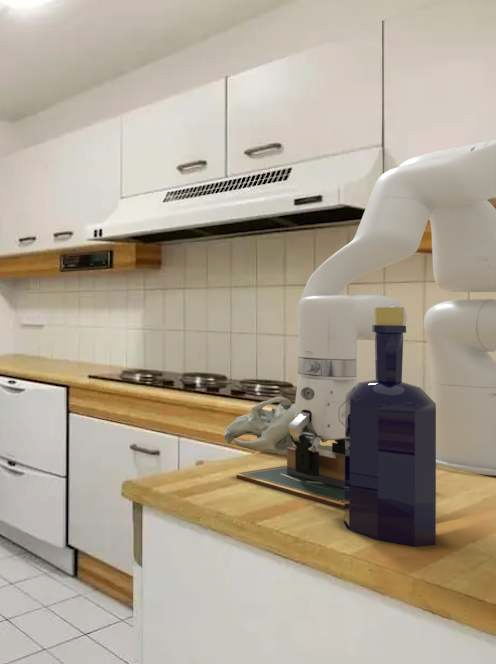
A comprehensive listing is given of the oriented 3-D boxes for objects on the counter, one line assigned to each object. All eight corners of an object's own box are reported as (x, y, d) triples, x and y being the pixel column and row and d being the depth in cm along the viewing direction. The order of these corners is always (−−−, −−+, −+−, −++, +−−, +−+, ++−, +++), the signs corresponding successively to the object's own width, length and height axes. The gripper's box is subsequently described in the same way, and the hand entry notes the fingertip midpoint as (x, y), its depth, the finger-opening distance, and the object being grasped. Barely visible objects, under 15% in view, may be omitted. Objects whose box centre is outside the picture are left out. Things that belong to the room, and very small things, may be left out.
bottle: (459, 549, 68) (460, 307, 67) (372, 543, 69) (373, 307, 69) (401, 521, 77) (402, 307, 76) (325, 516, 78) (326, 307, 78)
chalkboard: (317, 466, 104) (317, 460, 104) (429, 493, 89) (429, 486, 89) (236, 478, 96) (236, 472, 96) (344, 510, 81) (344, 502, 81)
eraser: (303, 470, 97) (303, 445, 97) (365, 486, 88) (365, 458, 88) (286, 473, 95) (286, 447, 95) (348, 489, 87) (348, 461, 87)
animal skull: (224, 472, 116) (202, 415, 116) (241, 447, 124) (221, 394, 124) (330, 473, 102) (306, 408, 102) (342, 444, 110) (320, 385, 110)
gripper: (318, 373, 85) (317, 483, 85) (385, 369, 91) (384, 472, 91) (267, 368, 92) (267, 470, 92) (333, 365, 98) (332, 460, 98)
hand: (325, 470), depth 92 cm, fingers open, 9 cm apart
